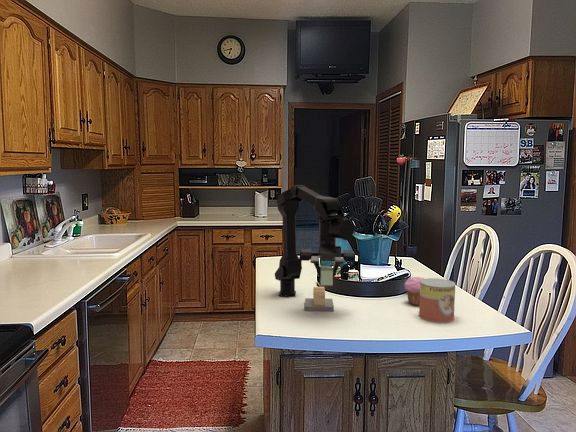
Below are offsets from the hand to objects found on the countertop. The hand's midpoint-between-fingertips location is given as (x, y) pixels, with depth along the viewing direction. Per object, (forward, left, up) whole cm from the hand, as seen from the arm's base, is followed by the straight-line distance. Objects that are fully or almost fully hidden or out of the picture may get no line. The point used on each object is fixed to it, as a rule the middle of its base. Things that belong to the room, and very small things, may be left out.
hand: (326, 279), depth 160 cm
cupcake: (-11, +34, -12) cm, 37 cm away
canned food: (+4, +37, -12) cm, 39 cm away
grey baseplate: (-6, -2, -11) cm, 13 cm away
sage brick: (0, 0, -1) cm, 1 cm away
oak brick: (-6, -2, -10) cm, 12 cm away
